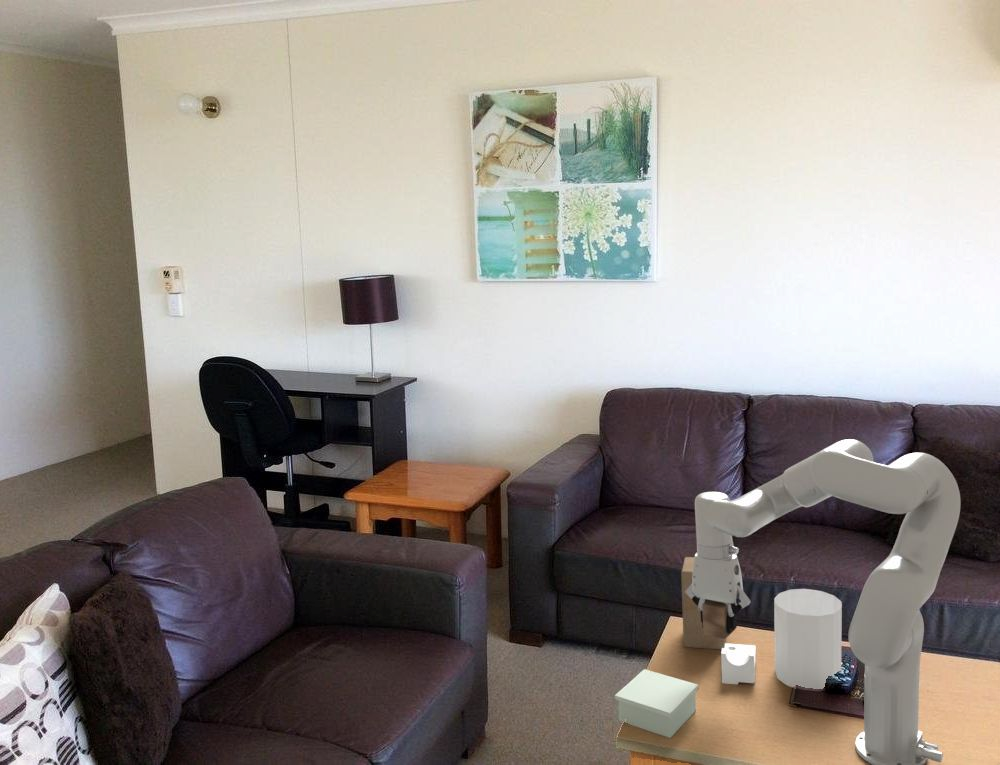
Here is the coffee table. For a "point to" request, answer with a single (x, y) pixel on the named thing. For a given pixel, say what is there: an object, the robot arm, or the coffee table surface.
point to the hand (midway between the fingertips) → (718, 627)
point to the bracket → (738, 663)
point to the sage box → (657, 702)
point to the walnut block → (715, 619)
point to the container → (807, 637)
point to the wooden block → (694, 616)
